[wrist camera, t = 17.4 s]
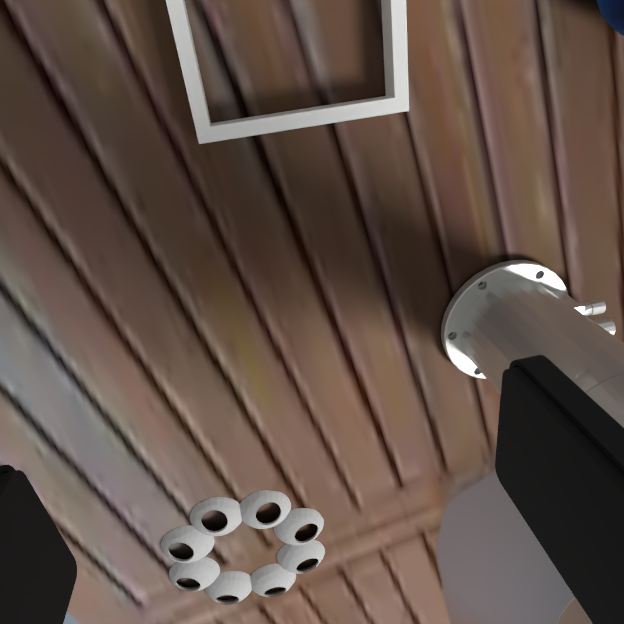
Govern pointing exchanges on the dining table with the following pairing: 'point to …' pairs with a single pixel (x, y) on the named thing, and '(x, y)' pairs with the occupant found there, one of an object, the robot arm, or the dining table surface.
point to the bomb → (613, 13)
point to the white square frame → (275, 122)
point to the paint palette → (245, 511)
